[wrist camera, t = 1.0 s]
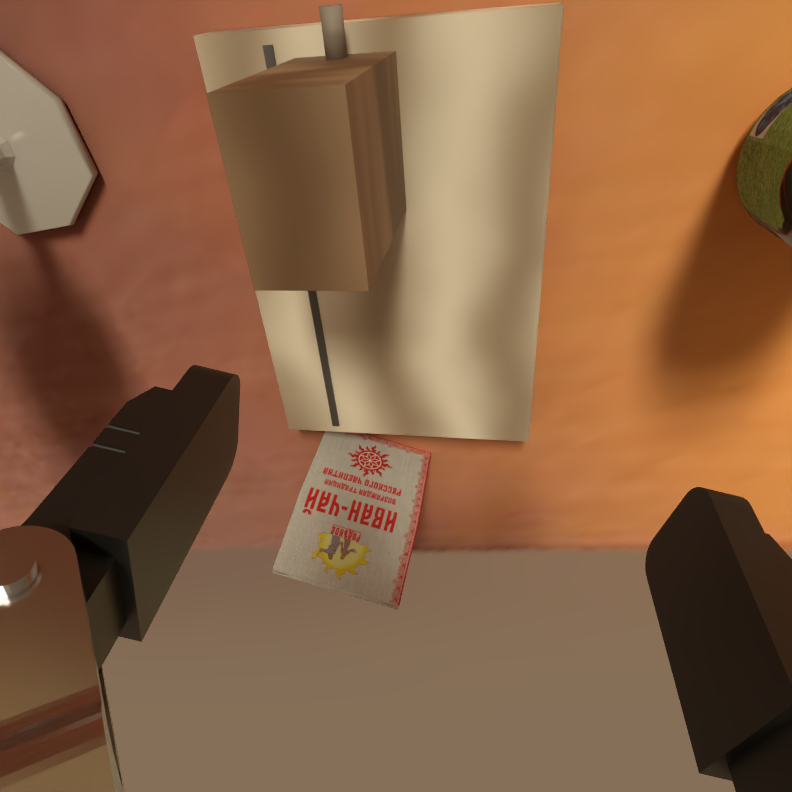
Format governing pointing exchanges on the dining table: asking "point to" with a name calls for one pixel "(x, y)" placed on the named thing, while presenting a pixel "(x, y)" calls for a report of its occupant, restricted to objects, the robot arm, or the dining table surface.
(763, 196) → the beverage can
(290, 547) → the tea bag
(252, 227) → the block
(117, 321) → the dining table surface
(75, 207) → the wineglass
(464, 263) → the board
